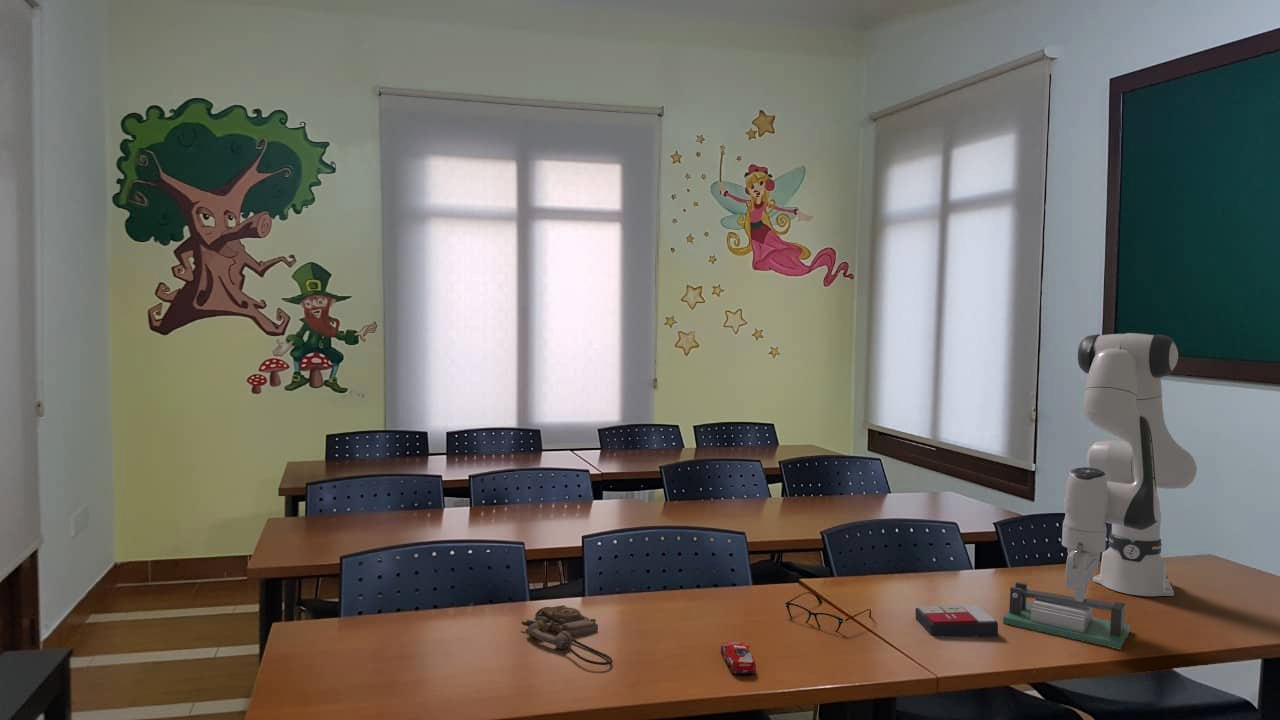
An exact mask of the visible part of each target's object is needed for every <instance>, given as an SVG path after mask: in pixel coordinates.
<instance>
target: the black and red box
mask: <svg viewBox="0 0 1280 720" xmlns="http://www.w3.org/2000/svg"><path fill="white" fill-rule="evenodd" d="M915 620H916V621H917V622H918V623H919V624H920V625H921V626H922V627H923V629H924V631H926V632H927V633H928V634H929V635H930V636H931V637H950V638H952V637H955V638H956V637H957V638H958V637H960V638H961V637H962V638H963V637H978V638H998V637H999V623H998V621H997V620H996V619H994V618H993V617H992V616H991V615H989V614H988V613H987V612H986V611H984V609H982V608H981V607H980V606H979V605H976V604H975V605H972V604H971V605H962V606H961V605H960V604H948V605H947V604H946V605H944V604H943V605H940V606H938V605H920V606H918V607H916V608H915Z"/></svg>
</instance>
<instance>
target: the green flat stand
mask: <svg viewBox="0 0 1280 720" xmlns="http://www.w3.org/2000/svg"><path fill="white" fill-rule="evenodd" d="M1009 588H1010V591H1009V592H1010V593H1009V611H1008V612H1007V613H1006V614H1005V615H1004V616H1003V618H1002V619H1003V621H1002V623H1003V624H1004V623H1005V624H1006V625H1008V624H1010V625H1009V626H1013V625H1015V626H1014V627H1017V626H1018V628H1021V627H1024V628H1023V629H1026V628H1028V629H1027V630H1030V629H1032V630H1031V631H1035V630H1037V631H1036V632H1039V631H1041V632H1040V633H1043V632H1046V633H1045V634H1048V633H1050V634H1049V635H1052V634H1054V635H1053V636H1057V635H1059V636H1058V637H1061V636H1063V637H1062V638H1065V637H1069V638H1068V639H1070V638H1074V639H1078V640H1084V641H1087V642H1092V643H1096V644H1101V645H1105V646H1110V647H1115V648H1120V649H1122V648H1123V646H1124V644H1125V642H1126V640H1127V637H1129V634H1130V631H1131V625H1130V624H1126V623H1125V614H1126V613H1125V611H1126V603H1123V602H1119V601H1118V602H1117V601H1115V602H1113V606H1112V608H1111V612H1110V620H1107V619H1102V618H1097V617H1093V613H1094V612H1093V610H1094V608H1091V607H1084V606H1078V605H1072V604H1066V603H1060V602H1053V601H1047V600H1041V599H1035V600H1034V601H1032V604H1030V603H1027V601H1028V597H1022V591H1023V589H1027V590H1028V583H1024V582H1020V581H1016V582H1015V586H1011V587H1009ZM1074 639H1073V640H1074ZM1125 639H1126V640H1125ZM1078 640H1077V641H1078ZM1124 641H1125V642H1124ZM1087 642H1086V643H1087ZM1092 643H1091V644H1092ZM1123 643H1124V644H1123ZM1096 644H1095V645H1096ZM1122 645H1123V646H1122ZM1105 646H1104V647H1105ZM1121 647H1122V648H1121Z"/></svg>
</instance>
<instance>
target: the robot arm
mask: <svg viewBox="0 0 1280 720" xmlns="http://www.w3.org/2000/svg"><path fill="white" fill-rule="evenodd" d="M1176 345H1177V344H1176V342H1175V340H1173V338H1171V337H1170V336H1169V335H1168V336H1167V335H1164V334H1157V333H1156V334H1145V333H1136V332H1126V333H1111V334H1109V333H1108V334H1099V333H1097V334H1093V335H1092V334H1091V335H1088V336H1085V337H1084V338H1083V339H1082V340H1081V341H1080V342H1079V345H1078V349H1077V353H1076V354H1077V362H1078V366H1079V368H1080V370H1082V371H1083V372H1084V373H1085V374H1087V378H1086V382H1085V388H1084V394H1083V412H1084V414H1085V417H1086V418H1087V420H1088V421H1090V423H1092V424H1093V425H1094V426H1096V427H1097V428H1098V429H1100V430H1102V431H1105V432H1106V433H1109V434H1111V435H1113V436H1115V437H1118V438H1120V439H1121V440H1118V439H1117V440H1116V439H1115V440H1114V439H1111V440H1110V439H1109V440H1108V439H1107V440H1098V441H1095V442H1093V444H1092V445H1090V447H1089V449H1088V450H1087V453H1086V457H1085V458H1086V465H1087V467H1084V466H1083V467H1077V468H1073V469H1071V470H1070V471H1069V474H1068V476H1067V481H1066V486H1065V491H1064V499H1063V500H1064V501H1063V509H1064V513H1065V514H1064V515H1065V516H1064V519H1063V521H1062V535H1061V545H1062V546H1063V547H1064V548H1067V558H1066V563H1065V573H1064V574H1065V575H1064V576H1065V577H1064V586H1065V588H1067V589H1071V590H1074V597H1075V600H1076V601H1079V602H1083V601H1084V600H1085V599H1087V598H1086V597H1087V590H1088V585H1089V583H1090V581H1091V579H1092V582H1094V583H1098V585H1099V584H1100V585H1102V586H1103V587H1105V588H1107V589H1108V590H1109V589H1110V590H1111V591H1115V592H1119V593H1123V594H1125V595H1126V594H1127V595H1131V596H1132V595H1134V596H1139V597H1162V596H1164V597H1165V596H1166V597H1174V596H1175V591H1174V589H1173V587H1172V585H1171V582H1170V580H1169V579H1168V578H1169V577H1168V575H1167V574H1166V573H1167V563H1166V562H1165V560H1164V559H1163V558H1162V556H1161V553H1162V547H1163V546H1162V539H1161V538H1160V536H1161V534H1160V533H1161V522H1162V521H1161V519H1162V513H1161V505H1160V504H1161V503H1160V499H1159V495H1158V491H1157V489H1168V490H1169V489H1185V488H1187V487H1189V486H1190V485H1191V484H1192V483H1193V481H1194V480H1195V478H1196V476H1197V471H1198V470H1197V463H1196V461H1195V458H1194V457H1193V455H1192V454H1191V452H1188V451H1187V450H1186V449H1184V448H1183V447H1182V446H1180V444H1178V442H1177V441H1176V440H1175V439H1174V438H1173V437H1172V435H1171V434H1170V432H1169V430H1168V428H1167V425H1166V421H1165V417H1164V416H1165V415H1164V409H1163V390H1162V388H1163V387H1162V379H1161V378H1163V377H1166V376H1169V375H1170V374H1171V373H1173V372H1174V370H1175V368H1176V366H1177V364H1178V360H1179V352H1178V348H1177V346H1176ZM1106 523H1107V524H1111V532H1109V536H1108V545H1109V547H1108V548H1107V549H1106V547H1107V545H1106V544H1107V543H1106V542H1107V524H1106ZM1101 553H1102V555H1101ZM1100 558H1101V559H1100ZM1100 560H1101V562H1100ZM1099 565H1100V573H1099V574H1097V575H1096V573H1097V572H1098V569H1099Z"/></svg>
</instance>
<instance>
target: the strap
mask: <svg viewBox="0 0 1280 720" xmlns="http://www.w3.org/2000/svg"><path fill="white" fill-rule="evenodd" d="M1022 597H1027V599H1028V598H1030V599H1035V600H1036V599H1041V600H1047V601H1053V602H1060V603H1066V604H1072V605H1078V606H1084V607H1091V608H1093V609H1097V610H1104V611H1111V608H1112V606H1113V604H1114V602H1110V601H1103V600H1097V599H1090V598H1085V600H1084V601H1083V602H1079V601H1076V600H1075V596H1072V595H1071V596H1070V595H1064V594H1059V593H1058V594H1057V593H1052V592H1045V591H1038V590H1033V589H1028V588H1027V589H1023V591H1022Z"/></svg>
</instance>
